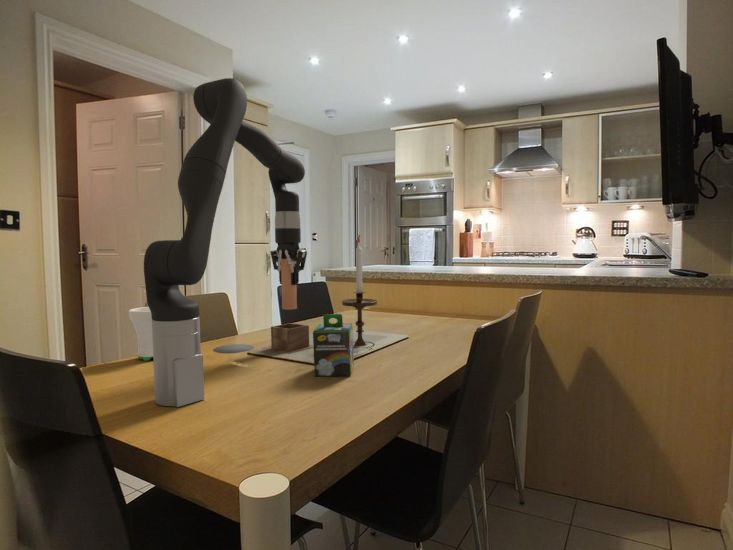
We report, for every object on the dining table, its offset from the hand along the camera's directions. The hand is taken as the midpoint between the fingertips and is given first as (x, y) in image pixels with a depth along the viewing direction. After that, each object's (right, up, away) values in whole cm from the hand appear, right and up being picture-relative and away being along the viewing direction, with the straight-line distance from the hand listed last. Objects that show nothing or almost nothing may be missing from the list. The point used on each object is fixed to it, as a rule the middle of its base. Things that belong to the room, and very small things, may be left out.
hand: (288, 284), depth 142 cm
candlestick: (+21, -20, +4) cm, 29 cm away
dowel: (0, -7, 0) cm, 7 cm away
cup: (-38, -21, -6) cm, 44 cm away
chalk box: (+15, -22, -23) cm, 35 cm away
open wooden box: (0, -20, +1) cm, 20 cm away
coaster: (-17, -20, +1) cm, 26 cm away
